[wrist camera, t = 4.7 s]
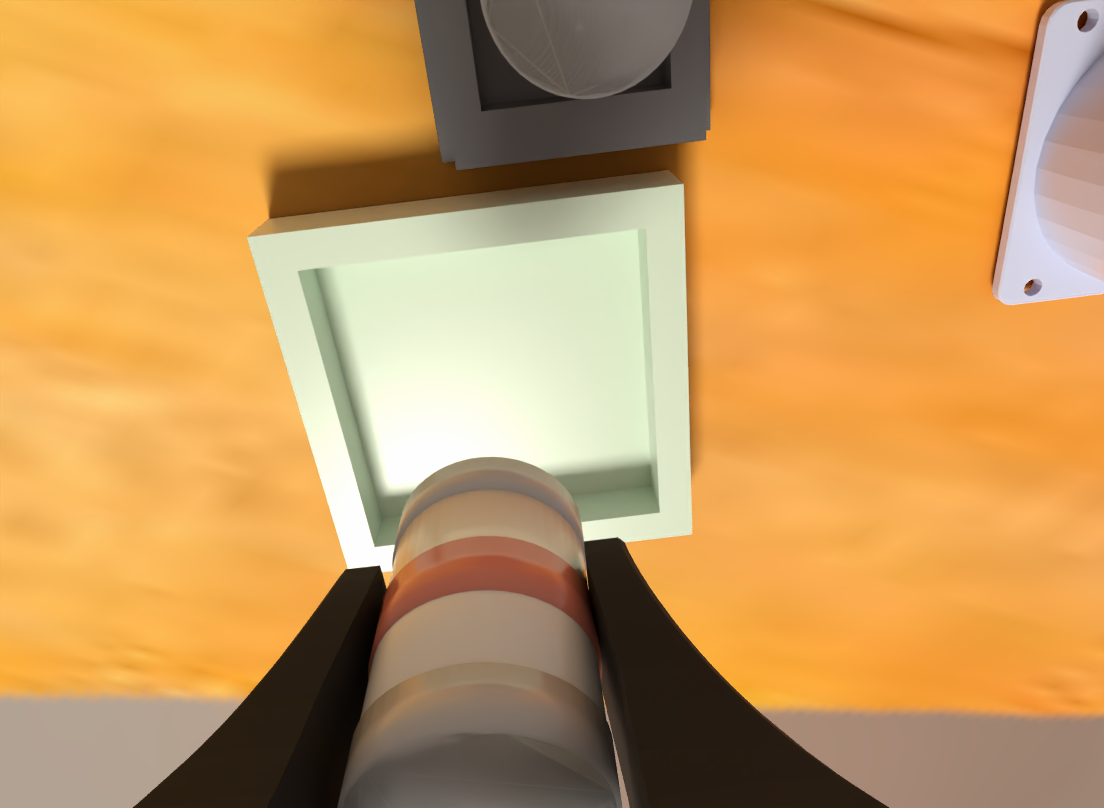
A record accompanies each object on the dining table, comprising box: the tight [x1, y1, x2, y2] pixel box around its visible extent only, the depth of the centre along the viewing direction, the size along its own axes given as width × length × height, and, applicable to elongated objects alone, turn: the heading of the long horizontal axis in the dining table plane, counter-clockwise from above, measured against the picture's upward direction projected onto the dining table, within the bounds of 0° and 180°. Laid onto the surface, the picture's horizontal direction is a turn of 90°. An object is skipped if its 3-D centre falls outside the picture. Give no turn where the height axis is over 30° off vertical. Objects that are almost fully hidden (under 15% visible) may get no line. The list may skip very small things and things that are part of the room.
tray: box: [247, 170, 692, 572], centre depth 22 cm, size 11×11×2 cm
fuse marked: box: [337, 457, 622, 808], centre depth 12 cm, size 4×4×6 cm
